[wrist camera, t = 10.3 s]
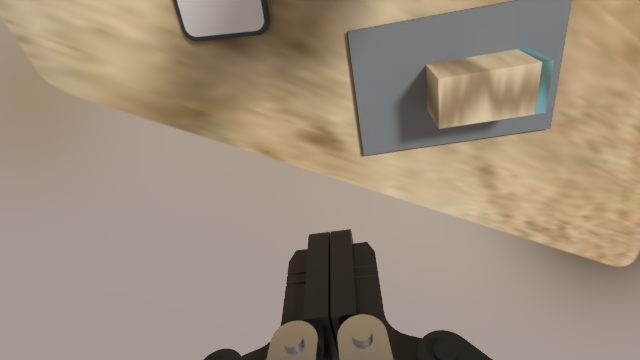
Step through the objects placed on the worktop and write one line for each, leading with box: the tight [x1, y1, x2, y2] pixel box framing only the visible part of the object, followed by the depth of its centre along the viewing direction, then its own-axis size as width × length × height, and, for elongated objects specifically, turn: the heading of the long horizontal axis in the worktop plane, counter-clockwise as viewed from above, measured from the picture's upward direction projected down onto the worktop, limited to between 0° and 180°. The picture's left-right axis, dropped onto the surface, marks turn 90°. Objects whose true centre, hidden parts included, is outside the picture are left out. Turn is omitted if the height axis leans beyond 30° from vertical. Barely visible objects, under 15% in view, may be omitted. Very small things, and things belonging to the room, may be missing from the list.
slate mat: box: [347, 0, 572, 156], centre depth 39 cm, size 14×21×1 cm, turn 100°
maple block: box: [426, 47, 554, 129], centre depth 36 cm, size 5×5×10 cm
